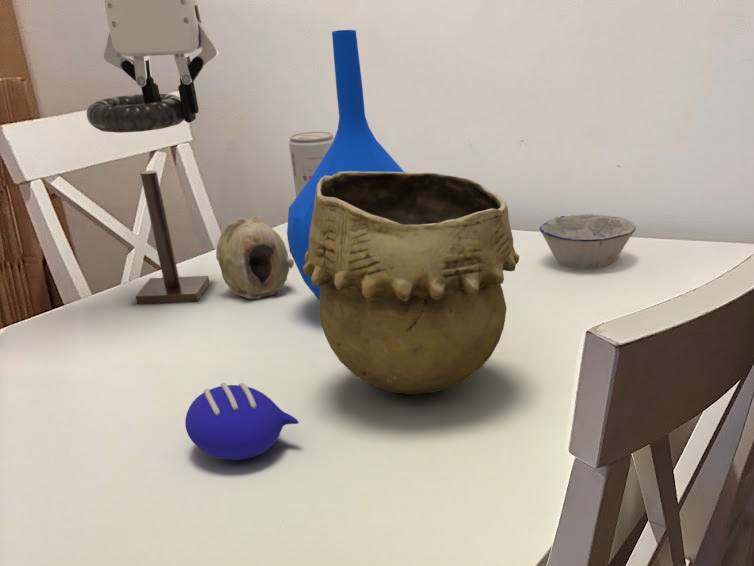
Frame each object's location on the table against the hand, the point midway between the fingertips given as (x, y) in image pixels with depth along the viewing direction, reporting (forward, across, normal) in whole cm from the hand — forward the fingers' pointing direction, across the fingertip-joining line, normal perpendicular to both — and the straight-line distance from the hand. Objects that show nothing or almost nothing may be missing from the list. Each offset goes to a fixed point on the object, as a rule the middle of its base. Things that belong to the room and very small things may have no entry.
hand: (174, 119), depth 120 cm
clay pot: (+21, -29, +36) cm, 51 cm away
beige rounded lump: (+21, -7, +1) cm, 22 cm away
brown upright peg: (+21, +5, 0) cm, 21 cm away
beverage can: (+21, -13, -21) cm, 33 cm away
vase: (+21, -22, +9) cm, 32 cm away
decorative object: (+21, -13, +49) cm, 55 cm away
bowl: (+21, -51, -7) cm, 56 cm away
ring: (-1, +4, 0) cm, 4 cm away
